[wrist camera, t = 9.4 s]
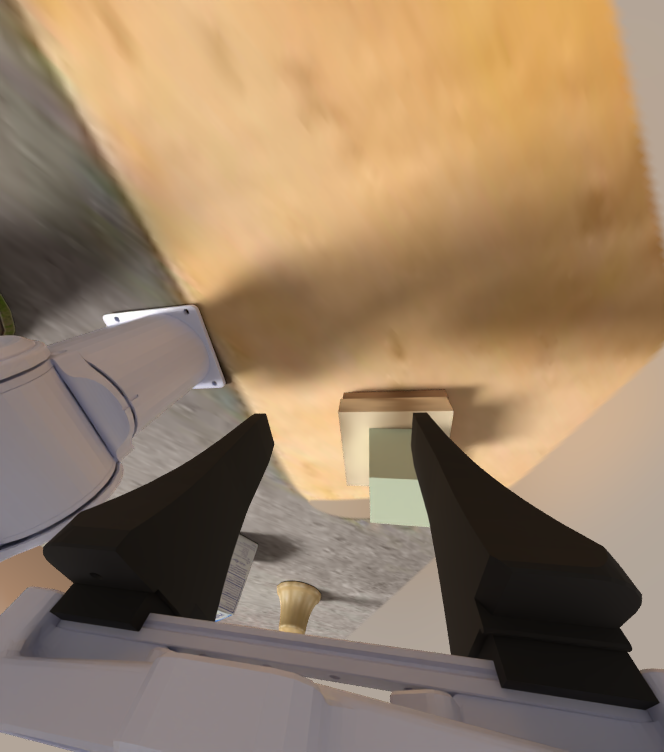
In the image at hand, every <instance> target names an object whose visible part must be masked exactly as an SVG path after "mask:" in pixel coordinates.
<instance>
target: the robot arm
mask: <svg viewBox="0 0 664 752" xmlns="http://www.w3.org/2000/svg"><path fill="white" fill-rule="evenodd" d="M186 309H187V310H188V311H189V314H188V313H187V311H186ZM118 317H119V318H118ZM103 320H104V322H105V323H106V325H107V327H104V328H101V329H98V330H95V331H92V332H88V333H85V334H82V335H79V336H76V337H73V338H69V339H66V340H63V341H60V342H57V343H54V344H50V345H47V346H46V345H45V344H44V343H43V342H40V341H37V340H30V339H27V338H24V337H21V336H14V335H5V336H0V562H2V561H4V560H6V559H8V558H10V557H12V556H15V555H17V554H19V553H22V552H24V551H27V550H29V549H32V548H35V547H37V546H39V545H42V544H44V543H46V542H48V541H49V542H48V543H47V544H46V545H45V546H44V547H43V555H44V556H45V558H46V560H47V561H48V562H49V563H50V564H52V565H53V566H54V567H55V568H56V569H57V570H59V571H60V572H61V573H62V574H63V575H65V576H66V577H67V578H68V579H69V580H71V581H72V582H73V585H72V586H71V587H70V588H69V589H68V590H67V592H66V593H64V592H61V591H59V590H55V589H48V588H41V587H28V588H27V589H26V590H25V591H24V592H23V593H22V594H21V595H20V596H19V597H18V598H17V599H16V600H15V601H14V602H13V603H12V604H11V605H10V606H9V607H8V608H7V609H6V610H5V611H4V612H3V613H2V614H1V615H0V732H1V733H5V734H9V735H13V736H17V737H21V738H24V739H28V740H32V741H36V742H40V743H43V744H47V745H51V746H55V747H59V748H62V749H66V750H70V751H74V752H664V669H644V670H640V671H639V670H638V668H637V666H636V665H635V663H634V662H633V660H632V659H631V657H630V656H629V654H628V652H630V651H632V647H631V644H630V643H629V641H628V640H627V638H626V637H625V635H624V633H623V632H622V631H621V629H620V627H621V626H622V625H623V624H624V623H625V622H626V621H627V620H628V619H629V618H631V617H632V616H633V615H634V614H635V613H636V612H637V611H638V609H639V608H640V606H641V603H642V594H641V593H640V591H639V590H638V589H637V588H636V586H635V585H634V584H633V582H632V581H631V580H630V578H629V577H628V576H627V574H626V573H625V572H624V571H623V569H622V568H621V567H620V565H619V564H618V563H617V562H616V561H615V559H614V558H613V557H612V556H611V555H610V553H609V552H608V551H607V550H606V549H605V548H604V547H603V546H601V545H599V544H598V543H596V542H594V541H592V540H591V539H589V538H587V537H585V536H583V535H582V534H580V533H578V532H576V531H574V530H573V529H571V528H569V527H567V526H565V525H564V524H562V523H560V522H558V521H557V520H555V519H553V518H552V517H550V516H549V515H547V514H545V513H544V512H542V511H541V510H539V509H537V508H535V507H534V506H533V505H531V504H529V503H528V502H526V501H525V500H523V499H522V498H520V497H519V496H518V495H516V494H515V493H513V492H512V491H511V490H509V489H508V488H506V487H505V486H503V485H502V484H501V483H499V482H498V481H497V480H495V479H494V478H493V477H492V476H490V475H489V474H488V473H487V472H485V471H484V470H483V469H482V468H480V467H479V466H478V465H477V464H476V463H475V462H474V461H472V460H471V459H470V458H469V457H468V456H467V455H466V454H465V453H464V452H463V451H462V450H461V449H460V448H459V447H458V446H457V445H456V444H455V443H454V442H453V441H452V440H451V439H450V438H449V437H448V436H447V435H446V434H445V433H444V432H443V430H442V429H441V428H440V427H439V426H438V425H437V424H436V422H435V421H434V420H433V419H432V418H431V416H430V415H429V414H428V413H427V412H419V413H413V418H412V434H411V451H412V457H413V464H414V468H415V472H416V476H417V479H418V483H419V486H420V490H421V493H422V497H423V501H424V504H425V508H426V511H427V515H428V519H429V523H430V528H431V534H432V539H433V545H434V550H435V556H436V562H437V568H438V574H439V579H440V585H441V592H442V598H443V604H444V611H445V617H446V624H447V631H448V637H449V644H450V651H451V655H448V654H441V653H434V652H427V651H420V650H413V649H405V648H398V647H391V646H383V645H377V644H370V643H362V642H355V641H348V640H341V639H334V638H327V637H320V636H312V635H305V634H298V633H291V632H284V631H277V630H269V629H262V628H255V627H248V626H241V625H234V624H226V623H219V622H215V619H216V615H217V611H218V607H219V603H220V599H221V595H222V591H223V587H224V583H225V580H226V576H227V573H228V569H229V566H230V562H231V559H232V556H233V552H234V549H235V546H236V543H237V540H238V536H239V533H240V530H241V528H242V525H243V522H244V519H245V516H246V513H247V511H248V508H249V506H250V503H251V501H252V499H253V497H254V494H255V492H256V490H257V488H258V486H259V484H260V481H261V479H262V477H263V475H264V472H265V470H266V468H267V466H268V463H269V461H270V457H271V454H272V451H273V447H274V441H273V437H272V434H271V430H270V427H269V423H268V419H267V416H266V414H254V415H252V416H251V417H249V418H248V419H246V420H245V421H244V422H243V423H241V424H240V425H239V426H237V427H236V428H235V429H233V430H232V431H231V432H230V433H228V434H227V435H226V436H224V437H223V438H222V439H220V440H219V441H217V442H216V443H215V444H213V445H212V446H210V447H209V448H208V449H206V450H205V451H203V452H202V453H200V454H199V455H197V456H196V457H194V458H193V459H191V460H190V461H188V462H186V463H185V464H183V465H181V466H180V467H178V468H176V469H174V470H172V471H171V472H169V473H167V474H165V475H163V476H161V477H159V478H157V479H156V480H154V481H152V482H150V483H148V484H146V485H143V486H141V487H139V488H137V489H135V490H133V491H131V492H128V493H126V494H124V495H122V496H119V497H117V498H114V499H112V500H109V501H107V502H105V501H106V500H107V499H108V498H109V497H110V496H111V495H112V493H113V492H114V491H115V490H116V488H117V487H118V485H119V483H120V481H121V479H122V477H123V465H122V463H121V462H120V461H121V460H122V459H123V458H124V457H125V456H126V455H128V454H129V453H130V452H131V451H132V450H133V449H134V446H133V444H132V438H133V437H134V436H135V435H136V434H137V433H139V432H140V431H141V430H142V429H144V428H145V427H146V426H147V425H148V424H150V423H151V422H152V421H153V420H154V419H156V418H157V417H158V416H159V415H161V414H162V413H163V412H164V411H165V410H167V409H168V408H169V407H170V406H172V405H173V404H174V403H175V402H176V401H178V400H179V399H180V398H181V397H182V396H184V395H185V394H186V393H187V392H189V391H190V390H191V389H198V388H221V387H223V386H224V385H225V384H226V382H225V379H224V376H223V374H222V371H221V368H220V365H219V363H218V360H217V357H216V355H215V352H214V349H213V346H212V344H211V341H210V338H209V336H208V333H207V330H206V327H205V325H204V322H203V319H202V317H201V314H200V311H199V309H198V307H197V306H195V305H183V306H173V307H164V308H155V309H146V310H137V311H128V312H118V313H109V314H105V315H104V316H103ZM214 381H215V382H216V383H217V384H216V383H215V382H214ZM305 677H309V678H315V679H320V680H326V681H332V682H339V683H344V684H350V685H356V686H362V687H368V688H374V689H380V690H386V691H392V693H391V695H390V702H391V703H388V702H384V701H381V700H377V699H373V698H370V697H366V696H362V695H358V694H355V693H351V692H347V691H344V690H340V689H336V688H332V687H329V686H325V685H320V684H317V683H314V682H313V681H312V680H310V679H307V678H305Z"/></svg>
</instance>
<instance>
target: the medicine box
mask: <svg viewBox="0 0 664 752" xmlns="http://www.w3.org/2000/svg"><path fill="white" fill-rule="evenodd" d="M257 548H258V544H256V543H255V542H253V541H251V540H249V539H248V538H246V537H244V536H242V535H240V534H239V536H238V540H237V543H236V546H235V549H234V552H233V556H232V559H231V562H230V566H229V569H228V573H227V576H226V580H225V583H224V587H223V591H222V595H221V599H220V603H219V607H218V611H217V615H216V619H215V622H217V621H219V620H222V619H224V618H227V617H229V616H231V615H234V613H235V610H236V608H237V605H238V602H239V599H240V597H241V594H242V591H243V588H244V585H245V582H246V579H247V577H248V574H249V571H250V568H251V565H252V562H253V560H254V557H255V554H256V551H257Z"/></svg>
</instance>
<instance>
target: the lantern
mask: <svg viewBox="0 0 664 752" xmlns="http://www.w3.org/2000/svg"><path fill="white" fill-rule="evenodd" d="M15 330H16V329H15V325H14V321H13V317H12V313H11V310H10V309H9V307H8V305H7V304H6V302H5V300H4V299H3V297H2V295H1V294H0V336H5V335H14V333H15Z"/></svg>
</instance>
